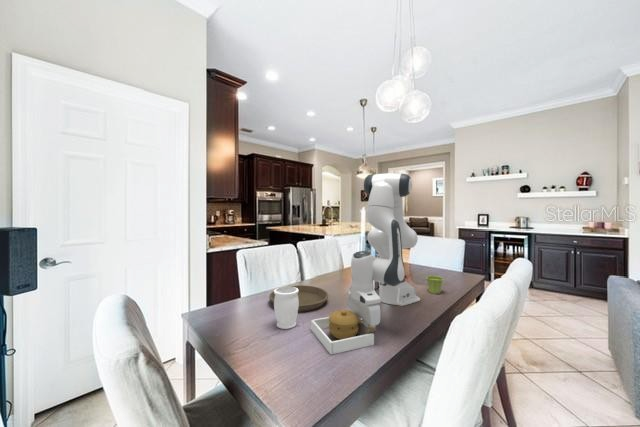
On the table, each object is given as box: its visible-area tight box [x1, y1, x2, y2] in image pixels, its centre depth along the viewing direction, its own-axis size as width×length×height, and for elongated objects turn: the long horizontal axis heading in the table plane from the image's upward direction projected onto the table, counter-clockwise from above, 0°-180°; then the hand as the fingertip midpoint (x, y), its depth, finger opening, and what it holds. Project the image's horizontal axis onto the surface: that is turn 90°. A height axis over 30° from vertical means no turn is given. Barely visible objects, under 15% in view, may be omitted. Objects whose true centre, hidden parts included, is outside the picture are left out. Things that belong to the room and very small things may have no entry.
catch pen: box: [310, 316, 375, 355], centre depth 101 cm, size 17×20×4 cm
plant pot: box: [425, 275, 444, 295], centre depth 154 cm, size 9×9×9 cm
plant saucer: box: [268, 284, 329, 313], centre depth 139 cm, size 31×31×5 cm
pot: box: [328, 309, 359, 340], centre depth 102 cm, size 12×12×10 cm
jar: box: [273, 286, 299, 330], centre depth 112 cm, size 11×10×15 cm
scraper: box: [357, 318, 376, 336], centre depth 105 cm, size 8×12×4 cm, turn 22°
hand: (361, 327), depth 105 cm, fingers closed on scraper, 3 cm apart
